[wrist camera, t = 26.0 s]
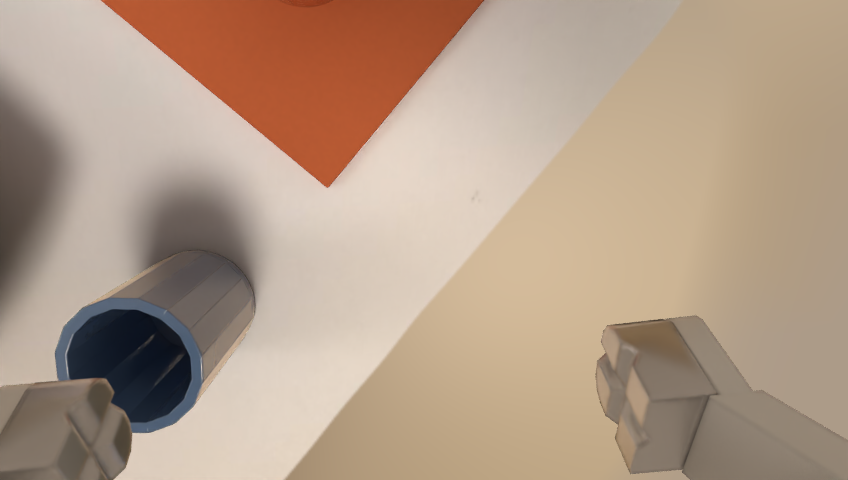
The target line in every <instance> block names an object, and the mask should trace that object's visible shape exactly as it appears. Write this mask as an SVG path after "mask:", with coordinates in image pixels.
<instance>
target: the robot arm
mask: <svg viewBox="0 0 848 480" xmlns="http://www.w3.org/2000/svg"><path fill="white" fill-rule="evenodd" d="M601 343H602V345H603V347H604V350H605V352H606V353H605V354H604V355H603V356H602V357H601V358H600V359H599V360H598V361H597V368H596V383H597V392H598V396H599V400H600V403H601V406H602V408H603V411H604V413H605V415H606V416H607V417H608V418H610V419H611V420H612V421H614V422H615V423H616V424H618V427H617V432H616V436H615V439H616V442H617V444H618V446H619V449H620V451H621V453H622V456H623V458H624V460H625V463H626V465H627V467H628V470H629V472H630V474H636V473H648V472H659V471H671V470H682V469H683V471H682V473H683V474H685V475H686V476H687V477H688V478H689V479H690V480H848V440H846V439H845V438H843V437H841V436H840V435H838V434H836V433H835V432H833V431H831V430H829V429H828V428H826V427H824V426H823V425H821V424H819V423H817V422H816V421H814V420H812V419H810V418H809V417H807V416H806V415H804V414H802V413H800V412H799V411H797V410H795V409H794V408H792V407H790V406H788V405H787V404H785V403H783V402H781V401H780V400H778V399H776V398H775V397H773V396H771V395H770V394H768V393H766V392H764V391H762V390H759V391H753V390H752V389H751V387H750V386H749V384H748V383H747V382H746V380H745V379H744V377H743V376H742V375H741V373H740V372H739V370H738V369H737V367H736V366H735V365H734V363H733V362H732V361H731V359H730V358H729V356H728V355H727V353H726V352H725V351H724V349H723V348H722V346H721V345H720V343H719V342H718V341H717V339H716V338H715V336H714V335H713V334H712V332H711V331H710V329H709V328H708V326H707V325H706V324H705V322H704V321H703V319H701V318H699V317H698V316H687V317H678V318H669V319H666V320H664V319H659V320H650V321H641V322H632V323H623V324H615V325H607V326H606V328H605V329H604V331H603V335H602V340H601ZM113 395H114V390H113V389H112V387H111V386H110V384H109V382H108V381H107V379H104V378H89V379H76V380H63V381H50V382H37V383H31V384H19V385H6V386H2V387H0V480H113V479H114V478H116V477H117V476H118V475H119V474H120V473H121V472H122V471H123V470H124V469H125V468H126V465H127V462H128V459H129V455H130V452H131V442H132V430H131V425H130V421H129V418H128V416H127V415H126V413H125V411H124V410H123V409H121V408H119V407H118V406H116V405H114V404H112V403H110V402H111V400H112V397H113Z"/></svg>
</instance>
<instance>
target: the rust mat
mask: <svg viewBox="0 0 848 480" xmlns="http://www.w3.org/2000/svg"><path fill="white" fill-rule="evenodd" d="M101 1H102V2H104V3H105V4H106V5H107V6H108V7H110V8H111V9H112V10H113V11H115V12H116V13H117V14H118V15H119V16H121V17H122V18H123V19H124V20H125V21H127V22H128V23H129V24H130V25H131V26H133V27H134V28H135V29H136V30H137V31H139V32H140V33H141V34H142V35H143V36H145V37H146V38H147V39H148V40H150V41H151V42H152V43H153V44H154V45H156V46H157V47H158V48H159V49H160V50H162V51H163V52H164V53H165V54H166V55H168V56H169V57H170V58H171V59H172V60H174V61H175V62H176V63H177V64H178V65H180V66H181V67H182V68H183V69H184V70H186V71H187V72H188V73H189V74H191V75H192V76H193V77H194V78H195V79H197V80H198V81H199V82H200V83H201V84H203V85H204V86H205V87H206V88H207V89H209V90H210V91H211V92H212V93H213V94H215V95H216V96H217V97H218V98H219V99H221V100H222V101H223V102H224V103H225V104H227V105H228V106H229V107H230V108H232V109H233V110H234V111H235V112H236V113H238V114H239V115H240V116H241V117H242V118H244V119H245V120H246V121H247V122H248V123H250V124H251V125H252V126H253V127H254V128H256V129H257V130H258V131H259V132H260V133H262V134H263V135H264V136H265V137H267V138H268V139H269V140H270V141H271V142H273V143H274V144H275V145H276V146H277V147H279V148H280V149H281V150H282V151H283V152H285V153H286V154H287V155H288V156H289V157H291V158H292V159H293V160H294V161H295V162H297V163H298V164H299V165H300V166H301V167H303V168H304V169H305V170H306V171H308V172H309V173H310V174H311V175H312V176H314V177H315V178H316V179H317V180H318V181H320V182H321V183H322V184H323V185H324V186H326V187H327V188H328V187H329V186H330V185H331V184H332V182H333V181H334V180H335V179H336V178H337V176H338V175H339V174H340V173H341V172H342V170H343V169H344V168H345V167H346V166H347V164H348V163H349V162H350V161H351V160H352V158H353V157H354V156H355V155H356V154H357V152H358V151H359V150H360V149H361V148H362V146H363V145H364V144H365V143H366V142H367V140H368V139H369V138H370V137H371V136H372V134H373V133H374V132H375V131H376V130H377V128H378V127H379V126H380V125H381V124H382V122H383V121H384V120H385V119H386V118H387V116H388V115H389V114H390V113H391V112H392V110H393V109H394V108H395V107H396V106H397V104H398V103H399V102H400V101H401V100H402V98H403V97H404V96H405V95H406V94H407V92H408V91H409V90H410V89H411V88H412V86H413V85H414V84H415V83H416V82H417V80H418V79H419V78H420V77H421V76H422V74H423V73H424V72H425V71H426V70H427V68H428V67H429V66H430V65H431V64H432V62H433V61H434V60H435V59H436V58H437V56H438V55H439V54H440V53H441V52H442V50H443V49H444V48H445V47H446V45H447V44H448V43H449V42H450V41H451V39H452V38H453V37H454V36H455V35H456V33H457V32H458V31H459V30H460V29H461V27H462V26H463V25H464V24H465V23H466V21H467V20H468V19H469V18H470V17H471V15H472V14H473V13H474V12H475V11H476V9H477V8H478V7H479V6H480V5H481V3H482V2H483V1H484V0H333V1H331V2H329V3H327V4H324V5H320V6H316V7H296V6H291V5H288V4H284V3H282V2H280V1H278V0H101Z"/></svg>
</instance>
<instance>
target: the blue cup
mask: <svg viewBox="0 0 848 480" xmlns="http://www.w3.org/2000/svg"><path fill="white" fill-rule="evenodd" d="M254 312H255V301H254V295H253V291H252V288H251V286H250V283H249V282H248V280H247V278H246V277H245V275H244V274H243V272H242V271H241V270H240V269H239V268H238V267H237V266H236V265H234V264H233V263H232V262H231V261H229V260H228V259H226V258H224V257H222V256H220V255H218V254H215V253H212V252H207V251H201V250H190V251H184V252H180V253H177V254H174V255H172V256H170V257H168V258H166V259H164V260H161V261H160V262H158V263H156V264H155V265H153V266H151V267H150V268H148V269H146V270H145V271H143V272H141V273H140V274H138V275H136V276H135V277H133V278H131V279H130V280H128V281H126V282H125V283H123V284H121V285H120V286H118V287H116V288H115V289H113V290H111V291H110V292H108V293H106V294H105V295H103V296H101V297H100V298H98V299H96V300H95V301H93V302H91V303H90V304H88V305H86V306H85V307H83V308H82V309H81V310H80V311H79V312H78V313H77V314H76V315H75V316H74V317H73V318H72V319H71V320H70V321H69V322H68V323H67V324H66V325H65V326H64V328H63V330H62V333H61V335H60V338H59V341H58V344H57V347H56V350H55V359H56V368H57V377H58V381H63V380H76V379H89V378H104V379H107V381H108V382H109V384H110V386H111V387H112V389H113V390H114V395H113V397H112V400H111V402H110V403H112V404H114V405H116V406H118V407H119V408H121V409H123V410H124V411H125V413H126V415H127V416H128V418H129V421H130V425H131V430H132V433H149V432H150V433H151V432H153V431H156V430H159V429H162V428H164V427H167V426H170V425H173V424H175V423H176V422H177V421H179V420H180V419H181V418H182V417H183V416H184V415H185V414H186V413H187V412H188V411H189V410H190V409H191V408H192V407H193V406H194V405H195V404H196V402H197V401H198V400H199V398H200V397H201V396H202V394H203V393H204V391H205V390H206V389H207V387H208V386H209V385H210V383H211V382H212V381H213V379H214V378H215V377H216V375H217V374H218V373H219V371H220V370H221V368H222V367H223V366H224V364H225V363H226V362H227V360H228V359H229V358H230V356H231V355H232V354H233V352H234V351H235V349H236V348H237V347H238V345H239V344H240V343H241V341H242V340H243V339H244V337H245V335H246V333H247V331H248V330H249V328H250V326H251V324H252V321H253V318H254Z"/></svg>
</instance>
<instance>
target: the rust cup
mask: <svg viewBox="0 0 848 480" xmlns="http://www.w3.org/2000/svg"><path fill="white" fill-rule="evenodd" d="M278 1H280V2H282V3H284V4H288V5H291V6H296V7H316V6H320V5H324V4H327V3H329V2H331V1H333V0H278Z"/></svg>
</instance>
